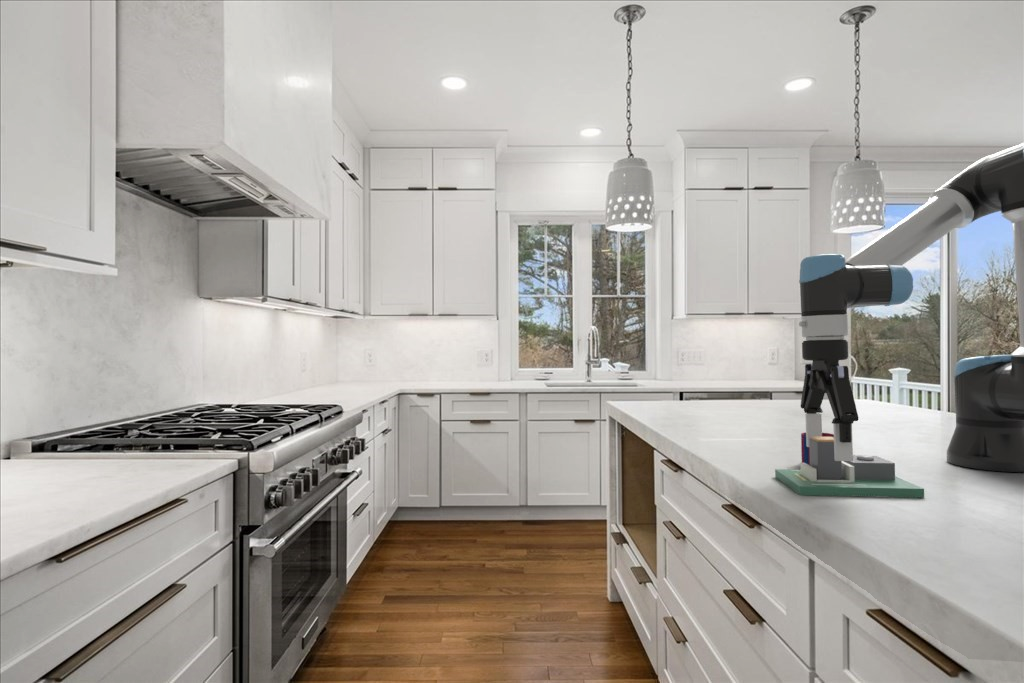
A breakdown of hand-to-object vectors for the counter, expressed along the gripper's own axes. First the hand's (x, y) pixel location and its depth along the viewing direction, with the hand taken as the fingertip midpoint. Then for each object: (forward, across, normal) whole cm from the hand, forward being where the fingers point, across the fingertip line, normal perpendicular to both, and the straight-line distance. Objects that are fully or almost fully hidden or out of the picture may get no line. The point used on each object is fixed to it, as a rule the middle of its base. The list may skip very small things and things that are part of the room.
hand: (828, 453), depth 108 cm
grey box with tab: (+5, -3, +8) cm, 9 cm away
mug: (+6, -17, +4) cm, 19 cm away
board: (+6, 0, +2) cm, 7 cm away
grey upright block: (+4, 0, -1) cm, 5 cm away
